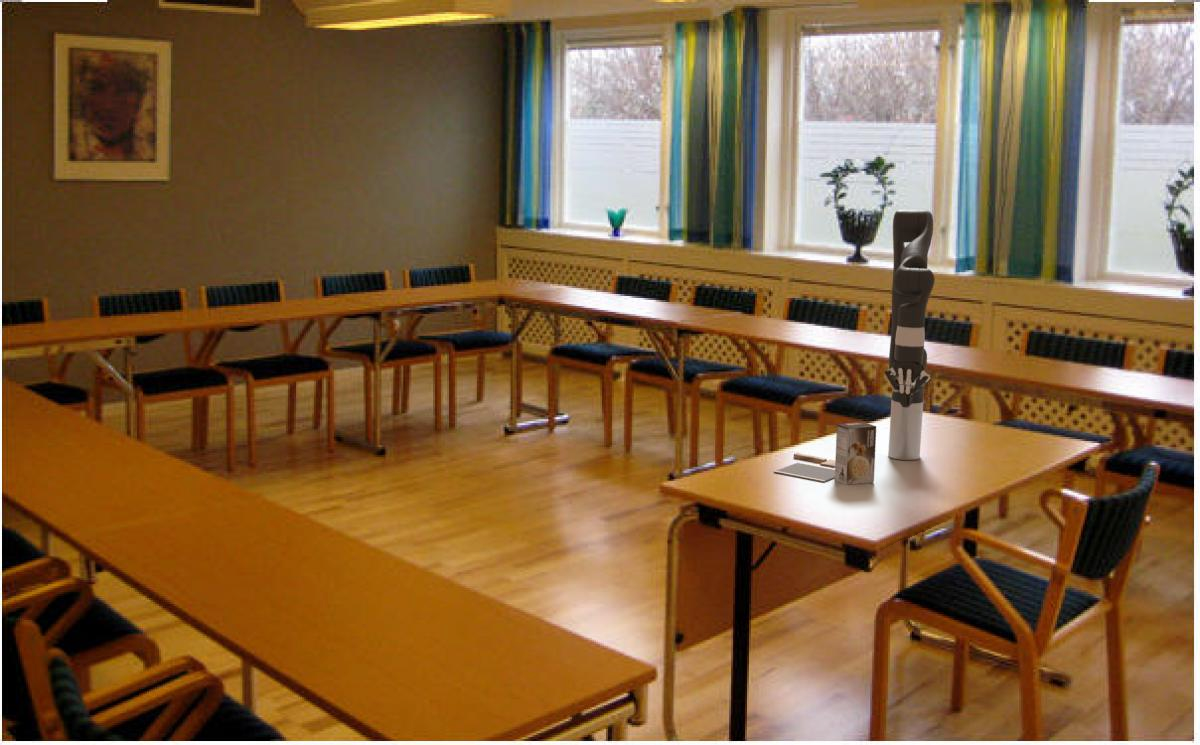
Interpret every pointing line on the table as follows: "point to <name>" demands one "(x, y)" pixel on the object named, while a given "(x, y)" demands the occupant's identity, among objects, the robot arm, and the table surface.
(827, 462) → the walnut turner
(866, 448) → the coffee box
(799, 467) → the mat
